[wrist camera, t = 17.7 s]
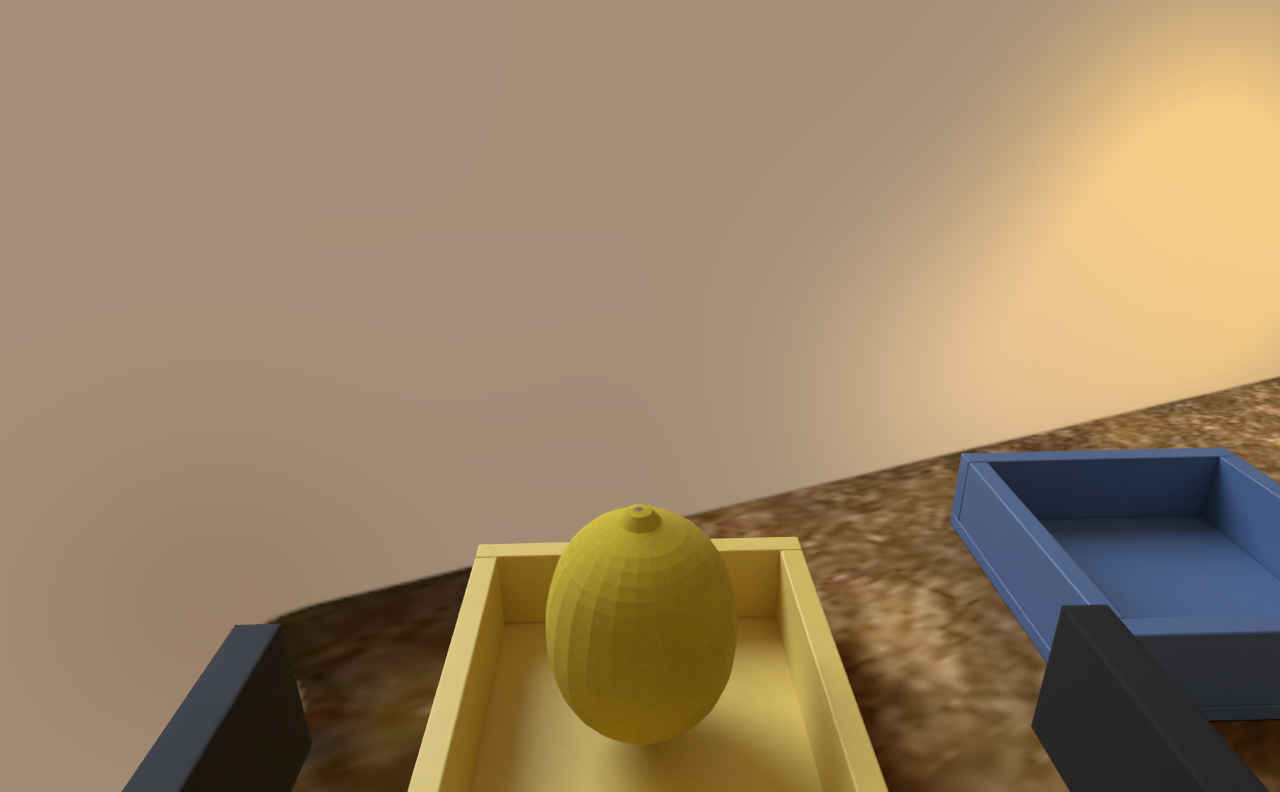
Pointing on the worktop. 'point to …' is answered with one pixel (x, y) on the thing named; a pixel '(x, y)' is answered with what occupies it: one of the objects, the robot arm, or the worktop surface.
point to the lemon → (641, 625)
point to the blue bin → (1140, 557)
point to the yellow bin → (652, 773)
